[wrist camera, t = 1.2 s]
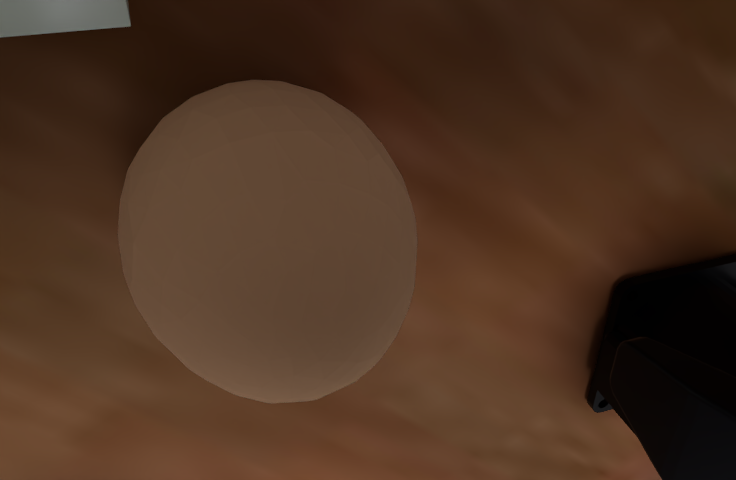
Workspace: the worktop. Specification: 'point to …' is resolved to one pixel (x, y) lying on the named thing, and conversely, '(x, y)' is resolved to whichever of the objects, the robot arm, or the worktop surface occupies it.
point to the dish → (61, 16)
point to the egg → (268, 240)
